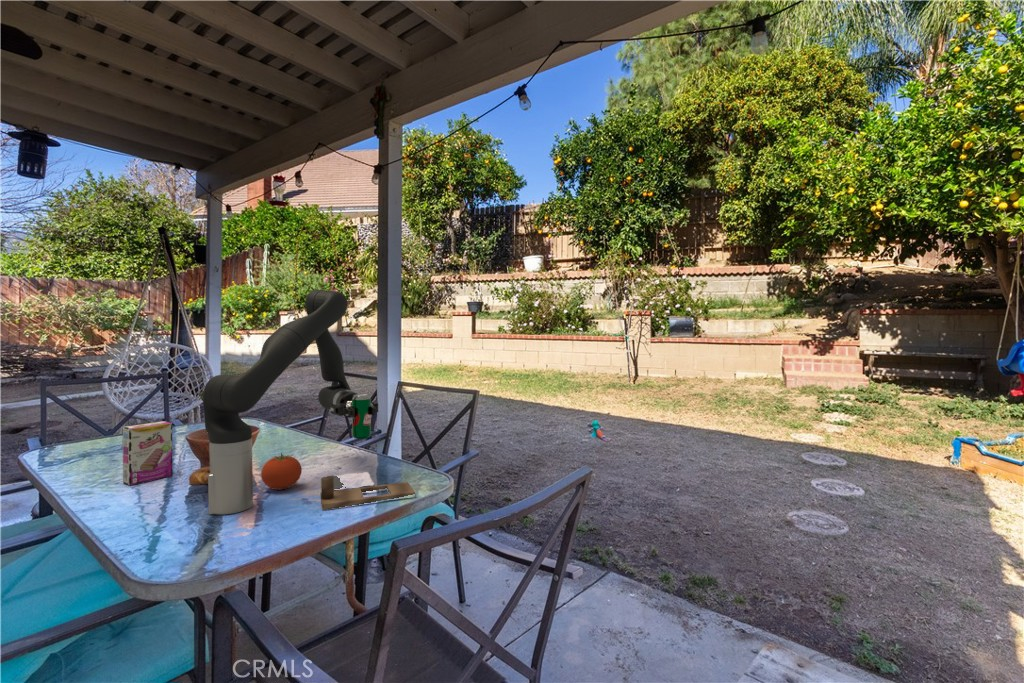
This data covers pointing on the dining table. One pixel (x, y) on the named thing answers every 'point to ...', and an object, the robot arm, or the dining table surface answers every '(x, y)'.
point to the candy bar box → (147, 452)
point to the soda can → (361, 416)
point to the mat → (337, 482)
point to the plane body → (358, 494)
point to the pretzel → (200, 476)
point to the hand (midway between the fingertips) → (363, 412)
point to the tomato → (281, 472)
